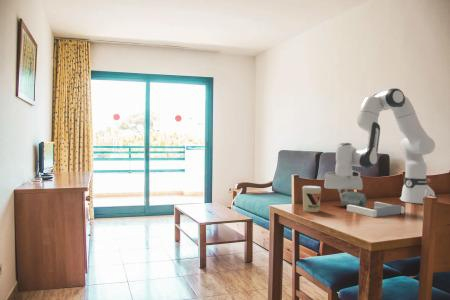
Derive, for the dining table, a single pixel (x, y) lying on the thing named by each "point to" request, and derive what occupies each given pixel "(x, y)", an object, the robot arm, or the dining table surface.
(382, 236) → the dining table surface
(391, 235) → the dining table surface
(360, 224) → the dining table surface
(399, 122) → the robot arm
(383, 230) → the dining table surface
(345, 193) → the grey-green rounded block
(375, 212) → the notched board
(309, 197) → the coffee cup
